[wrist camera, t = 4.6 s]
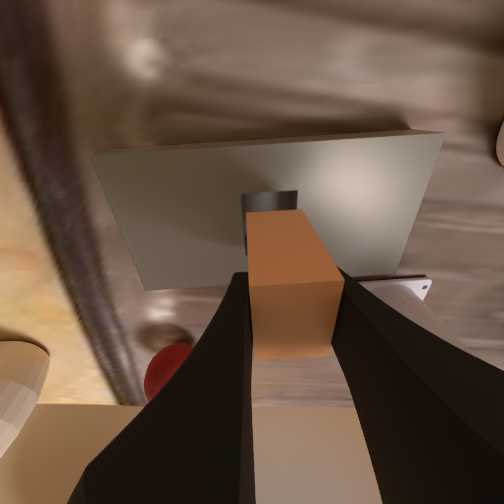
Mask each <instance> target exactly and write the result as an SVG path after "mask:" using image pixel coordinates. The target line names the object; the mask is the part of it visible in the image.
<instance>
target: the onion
mask: <svg viewBox="0 0 504 504" xmlns="http://www.w3.org/2000/svg"><path fill="white" fill-rule="evenodd" d="M192 349H193V348H192V347H191V346H190V345H189V344H188V343H187V342H180V343H175V344H171V345H169V346H167V347H165V348H163V349H162V350H161V351H159V352H158V353H157V354H156V355H155V356H154V357H153V358H152V360H151V362H150V364H149V366H148V368H147V371H146V375H145V379H144V390H145V394H146V397H147V399H148V401H150V400H151V399H152V398H153V397H154V396H155V395H156V394H157V392H158V391H159V390H160V389H161V388H162V387H163V386H164V385H165V383H166V382H167V381H168V380H169V379H170V378H171V376H172V375H173V374H174V373H175V371H176V370H177V369H178V368H179V366H180V365H181V364H182V362H183V361H184V360H185V359H186V357H187V356H188V355H189V353H190V352H191V351H192Z"/></svg>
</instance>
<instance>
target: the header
mask: <svg viewBox="0 0 504 504" xmlns="http://www.w3.org/2000/svg"><path fill="white" fill-rule="evenodd" d="M445 135H446V133H444V132H434V131H424V130H415V129H408V130H392V131H377V132H361V133H346V134H331V135H315V136H300V137H284V138H269V139H253V140H238V141H223V142H207V143H192V144H176V145H161V146H146V147H130V148H115V149H112V150H108V151H105V152H101V153H98V154H95V155H91V156H90V158H91V160H92V163H93V165H94V168H95V170H96V173H97V175H98V177H99V180H100V182H101V185H102V187H103V189H104V192H105V194H106V197H107V199H108V202H109V204H110V206H111V209H112V211H113V214H114V216H115V219H116V221H117V223H118V226H119V228H120V231H121V233H122V236H123V238H124V240H125V243H126V245H127V248H128V250H129V253H130V255H131V257H132V260H133V262H134V265H135V267H136V270H137V272H138V274H139V277H140V279H141V282H142V284H143V287H144V289H145V291H148V290H163V289H178V288H193V287H208V286H223V285H229V284H230V282H231V279H232V276H233V274H234V273H235V272H247V271H248V250H247V225H246V213H251V212H266V211H281V210H296V209H302V211H303V213H304V214H305V216H306V217H307V219H308V221H309V222H310V224H311V226H312V227H313V229H314V231H315V232H316V234H317V235H318V237H319V239H320V240H321V242H322V244H323V245H324V247H325V249H326V250H327V252H328V253H329V255H330V257H331V258H332V260H333V262H334V263H335V265H336V266H337V267H339V268H340V269H341V270H343V271H344V272H345V273H347V274H348V275H349V276H350V277H358V276H373V275H388V274H395V273H396V270H397V267H398V265H399V262H400V259H401V256H402V254H403V251H404V248H405V245H406V243H407V240H408V237H409V234H410V232H411V229H412V226H413V223H414V221H415V218H416V215H417V212H418V210H419V207H420V204H421V201H422V199H423V196H424V193H425V190H426V188H427V185H428V182H429V179H430V177H431V174H432V171H433V168H434V166H435V163H436V160H437V157H438V155H439V152H440V149H441V146H442V144H443V141H444V138H445Z"/></svg>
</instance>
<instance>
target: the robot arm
mask: <svg viewBox="0 0 504 504" xmlns="http://www.w3.org/2000/svg"><path fill="white" fill-rule="evenodd" d="M336 267H337V266H336ZM337 268H338V270H339V272H340V273H341V275H342V276H343V278H344V280H345V281H344V286H343V290H342V295H341V300H340V304H339V309H338V313H337V318H336V323H335V327H334V332H333V337H332V341H331V345H332V347H333V349H334V352H335V354H336V356H337V359H338V361H339V364H340V366H341V368H342V371H343V373H344V375H345V378H346V381H347V383H348V386H349V389H350V392H351V395H352V398H353V402H354V405H355V408H356V411H357V414H358V417H359V421H360V424H361V427H362V431H363V434H364V437H365V441H366V444H367V447H368V451H369V455H370V458H371V462H372V466H373V469H374V472H375V476H376V480H377V483H378V487H379V491H380V494H381V499H382V503H383V504H504V371H503V370H501V369H499V368H497V367H495V366H493V365H491V364H489V363H487V362H485V361H483V360H481V359H479V358H477V357H476V356H475V355H474V354H473V353H472V352H471V351H470V350H469V349H468V348H467V347H466V346H465V345H464V344H463V343H462V342H461V341H460V340H459V338H458V337H457V336H456V335H455V334H454V333H453V332H452V331H451V330H450V329H449V328H448V327H447V326H446V325H445V324H444V323H443V322H442V321H441V320H440V319H439V318H438V316H437V315H436V314H435V313H434V312H433V311H432V310H431V309H430V308H429V307H428V306H427V305H426V304H425V303H424V302H423V299H424V297H425V295H426V293H427V291H428V289H429V287H430V285H431V282H432V281H431V279H429V278H428V277H422V278H407V279H392V280H377V281H362V282H357V281H355V280H354V279H353V278H352V277H350V276H349V275H348V274H347V273H345V272H344V271H343V270H341V269H340V268H339V267H337ZM252 351H253V330H252V318H251V306H250V293H249V275H248V271H247V272H235V273H234V274H233V276H232V279H231V282H230V284H229V287H228V289H227V291H226V294H225V296H224V298H223V300H222V302H221V304H220V306H219V308H218V310H217V311H216V313H215V315H214V317H213V318H212V320H211V322H210V323H209V325H208V327H207V328H206V330H205V332H204V333H203V335H202V336H201V338H200V339H199V341H198V342H197V343H196V345H195V346H194V348H193V349H192V351H191V352H190V353H189V355H188V356H187V357H186V359H185V360H184V361H183V362H182V364H181V365H180V366H179V368H178V369H177V370H176V371H175V373H174V374H173V375H172V376H171V378H170V379H169V380H168V381H167V382H166V383H165V385H164V386H163V387H162V388H161V389H160V390H159V391H158V392H157V394H156V395H155V396H154V397H153V398H152V399H151V400H150V401H149V403H148V404H147V405H146V406H145V407H144V408H143V409H142V411H141V412H140V413H139V414H138V415H137V416H136V417H135V418H134V419H133V420H132V421H131V422H130V423H129V424H128V425H127V426H126V427H125V428H124V429H123V430H122V431H121V432H120V433H119V434H118V436H116V437H115V438H114V439H113V441H111V442H110V443H109V444H108V445H107V446H106V447H105V448H104V449H103V450H102V451H101V453H99V454H98V456H97V457H95V458H94V460H92V461H91V462H90V463H89V464H88V466H87V467H86V468H85V470H84V472H83V474H82V476H81V478H80V480H79V482H78V484H77V485H76V487H75V489H74V491H73V492H72V495H71V496H70V498H69V501H68V503H67V504H256V500H255V478H254V453H253V429H252V403H251V375H252Z"/></svg>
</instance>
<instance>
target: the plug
mask: <svg viewBox="0 0 504 504" xmlns="http://www.w3.org/2000/svg"><path fill="white" fill-rule="evenodd" d="M246 225H247V250H248V275H249V293H250V306H251V318H252V330H253V343H254V355H255V361H265V360H279V359H294V358H309V357H324V356H328V355H329V351H330V346H331V341H332V337H333V332H334V327H335V323H336V318H337V313H338V309H339V304H340V300H341V295H342V290H343V286H344V281H345V280H344V278H343V276H342V275H341V273H340V272H339V270H338V268H337V267H336V265H335V263H334V262H333V260H332V258H331V257H330V255H329V253H328V252H327V250H326V249H325V247H324V245H323V244H322V242H321V240H320V239H319V237H318V235H317V234H316V232H315V231H314V229H313V227H312V226H311V224H310V222H309V221H308V219H307V217H306V216H305V214H304V213H303V211H302V209H296V210H281V211H266V212H251V213H246Z"/></svg>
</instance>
